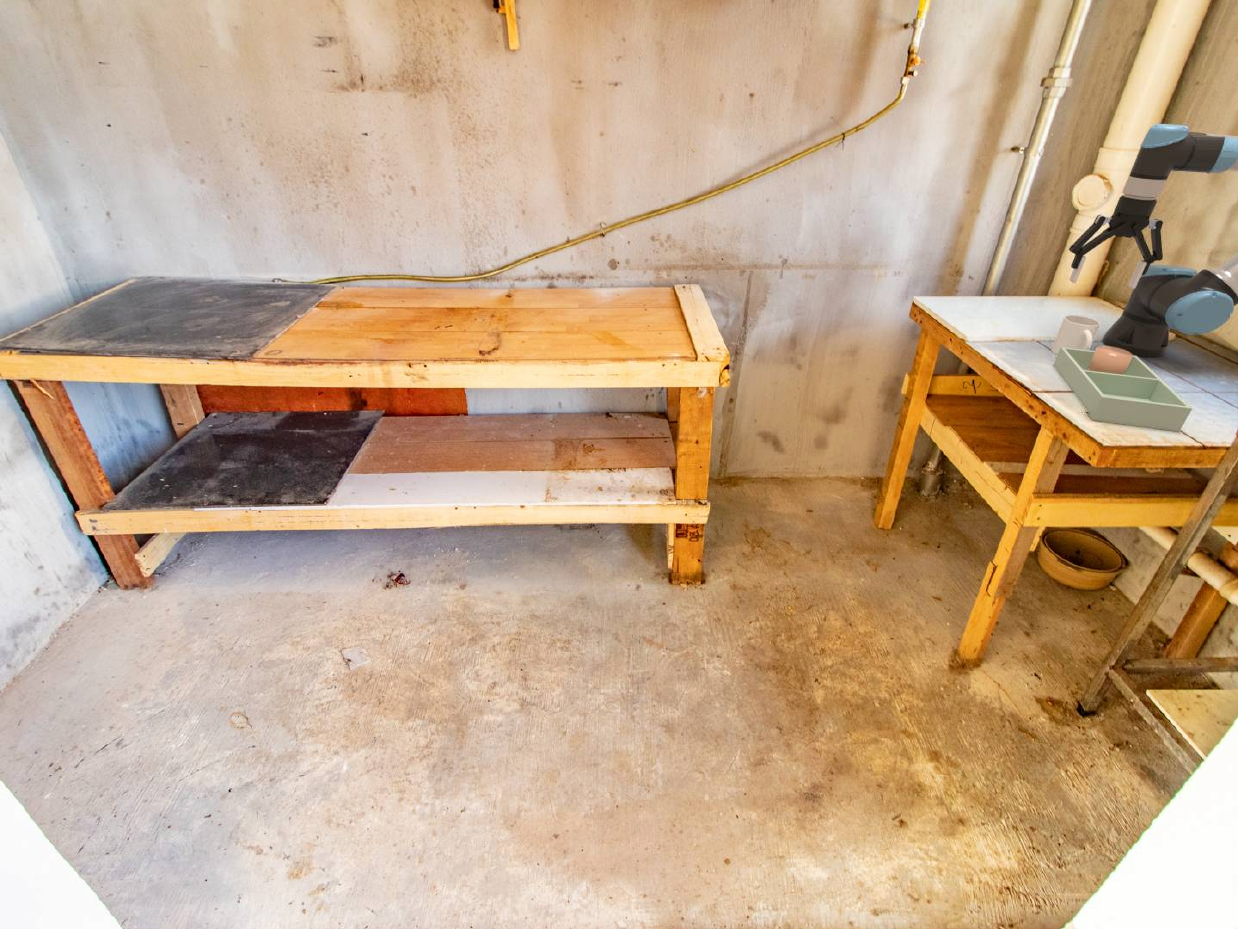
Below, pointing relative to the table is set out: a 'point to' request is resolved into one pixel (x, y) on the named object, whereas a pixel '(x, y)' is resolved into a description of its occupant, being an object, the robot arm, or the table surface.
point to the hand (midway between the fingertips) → (1101, 284)
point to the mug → (1075, 333)
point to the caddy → (1122, 393)
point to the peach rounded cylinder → (1110, 360)
